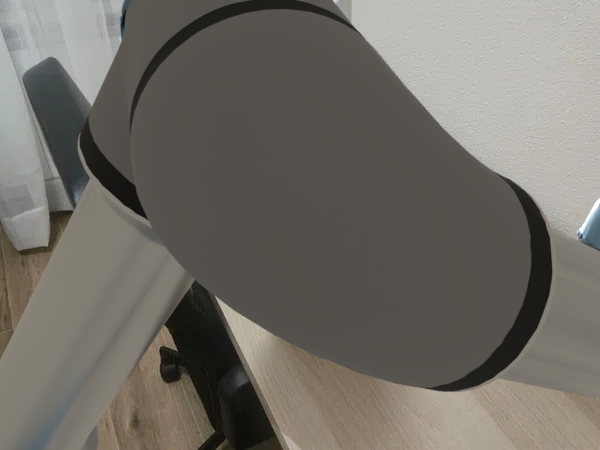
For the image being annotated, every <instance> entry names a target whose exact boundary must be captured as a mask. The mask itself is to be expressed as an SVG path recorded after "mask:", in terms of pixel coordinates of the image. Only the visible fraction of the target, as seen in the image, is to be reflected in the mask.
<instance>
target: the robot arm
mask: <svg viewBox="0 0 600 450" xmlns="http://www.w3.org/2000/svg"><path fill="white" fill-rule="evenodd" d="M119 22H120V25H119V28H120V37H121V41H120V44H119V47H118V49H117V52H116V54H115V56H114V57H113V60H112V62H111V64H110V67H109V69H108V71H107V72H106V75H105V77H104V80H103V82H102V84H101V86H100V88H99V89H98V93H97V94H96V97H95V99H94V101H93V103H92V106H91V108H90V110H89V112H88V114H87V117H86V119H85V121H84V123H83V126H82V128H81V130H80V132H79V135H78V138H77V154H78V157H79V160H80V162H81V164H82V166H83V169H84V171H85V172H86V174H87V175H88V177H89V180H88V182H87V184H86V186H85V188H84V189H83V192H82V194H81V196H80V197H79V200H78V202H77V204H76V206H75V208H74V210H73V212H72V215H71V216H70V218H69V220H68V222H67V224H66V226H65V228H64V230H63V232H62V233H61V237H60V238H59V241H58V242H57V245H56V246H55V248H54V251H53V252H52V255H51V256H50V258H49V261H48V263H47V265H46V266H45V268H44V271H43V272H42V275H41V276H40V279H39V281H38V282H37V285H36V287H35V289H34V291H33V293H32V295H31V297H30V298H29V301H28V302H27V304H26V307H25V309H24V311H23V313H22V315H21V317H20V319H19V321H18V323H17V325H16V327H15V329H14V331H13V333H12V335H11V337H10V339H9V341H8V342H7V345H6V348H5V349H4V352H3V353H2V355H1V358H0V450H98V446H99V427H98V423H99V421H101V418H102V417H103V416H104V414H105V413H106V411H107V409H108V408H109V407H110V405H111V403H112V402H113V401H114V399H115V398H116V396H117V395H118V393H119V392H120V390H121V389H122V388H123V386H124V384H125V383H126V381H127V380H128V379H129V377H130V376H131V374H132V373H133V371H134V370H135V368H136V367H137V365H138V364H139V362H140V361H141V360H142V358H143V357H144V355H145V354H146V353H147V351H148V350H149V348H150V346H151V345H152V344H153V343H154V340H155V339H156V338H157V336H158V335H159V333H160V332H161V330H162V329H163V328H164V326H165V325H166V323H167V321H169V319H170V317H171V316H172V314H173V313H174V311H175V310H176V308H177V307H178V305H179V304H180V302H181V301H182V300H183V299H184V297H185V295H186V294H187V292H188V291H189V290H190V288H191V286H192V285H193V284H194V282H195V281H196V282H197V283H198V284H199V285H200V286H202V287H203V288H204V289H205V290H206V291H208V292H209V293H211V294H212V295H213V296H214V297H215V298H217V299H218V300H220V301H221V302H222V303H223V304H225V305H226V306H227V307H228V308H230V309H231V310H233V311H234V312H235V313H238V314H239V315H240V316H242V317H244V318H245V319H247V320H248V321H250V322H252V323H253V324H255V325H257V326H259V328H262V329H264V330H265V331H266V332H268V333H269V334H271V335H273V336H275V337H277V338H279V339H281V340H283V341H285V342H287V343H289V344H291V345H293V346H295V347H297V348H299V349H301V350H303V351H305V352H307V353H309V354H311V355H313V356H315V357H318V358H321V359H323V360H326V361H328V362H330V363H333V364H335V365H337V366H340V367H343V368H346V369H348V370H350V371H353V372H355V373H358V374H361V375H364V376H366V377H367V376H368V377H370V378H374V379H378V380H382V381H385V382H388V383H389V382H390V383H392V384H396V385H402V386H406V387H412V388H418V389H424V390H429V391H430V390H431V391H435V392H443V393H462V392H468V391H472V390H476V389H479V388H482V387H485V386H486V385H487V386H488V385H489V384H491V383H492V382H495V381H496V380H498V379H501V380H505V381H508V382H509V381H511V382H514V383H519V384H524V385H529V386H533V387H539V388H543V389H548V390H553V391H559V392H563V393H568V394H573V395H578V396H582V397H585V398H592V399H597V400H600V197H599V198H598V199H597V200H596V201H595V203H594V205H592V206H593V207H592V208H591V209H590V212H589V213H588V215H587V217H586V218H585V220H584V222H583V224H581V225H580V226H579V228H578V229H577V231H576V236H575V238H573V237H571V236H569V235H568V234H565V233H563V232H561V231H559V230H557V229H555V228H553V227H551V225H550V222H549V220H548V218H547V216H546V215H545V212H544V211H543V209H542V207H541V206H540V204H539V203H538V202H537V201H536V199H535V197H534V196H533V195H532V194H531V193H529V192H528V191H527V190H526V189H525V188H523V186H521V185H519V184H518V183H516V182H515V181H513V180H512V179H510V178H508V177H507V176H504V175H503V174H502V175H501V174H500V173H499V172H496V171H494V170H493V169H491V168H490V167H488V166H487V165H485V164H484V163H483V162H482V161H480V160H479V159H477V158H476V156H474V155H472V154H471V153H470V152H469V151H468V150H467V149H466V148H465V147H464V146H463V145H461V144H460V142H459V141H457V139H456V138H454V137H453V136H452V135H451V134H450V133H449V132H448V131H446V129H444V127H443V126H442V124H440V123H439V121H437V120H436V118H435V117H434V116H433V115H432V114H431V113H430V111H429V110H428V109H427V108H426V107H425V105H423V104H422V102H421V101H420V100H419V99H418V98H417V97H416V95H414V93H413V92H412V91H411V90H410V89H409V87H408V86H407V85H406V84H405V83H404V82H403V80H402V79H401V78H400V76H399V75H398V74H397V72H395V71H394V69H393V68H392V67H391V65H390V64H389V63H388V61H387V60H386V59H385V58H384V57H383V56H382V54H380V52H379V51H378V50H377V49H376V48H375V47H374V46H373V44H371V43H370V42H369V41H368V39H366V38H365V37H364V35H363V34H362V33H361V32H360V31H359V30H358V29H357V28H356V26H355V25H354V24H352V22H351V21H350V19H349V18H348V17H347V16H346V15H345V13H344V12H343V11H342V10H341V8H340V7H339V6H338V4H337V3H336V2H335V1H334V0H123V2H122V5H121V16H120V17H119Z"/></svg>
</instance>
